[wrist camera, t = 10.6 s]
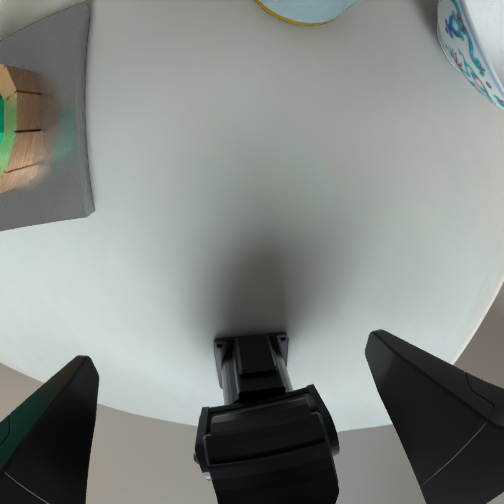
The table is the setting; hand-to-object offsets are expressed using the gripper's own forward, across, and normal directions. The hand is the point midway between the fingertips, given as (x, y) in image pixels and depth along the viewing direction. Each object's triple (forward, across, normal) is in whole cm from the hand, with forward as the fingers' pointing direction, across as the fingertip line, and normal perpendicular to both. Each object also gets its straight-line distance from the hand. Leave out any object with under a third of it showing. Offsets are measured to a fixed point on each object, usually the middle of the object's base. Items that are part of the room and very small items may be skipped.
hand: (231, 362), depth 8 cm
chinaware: (+13, -23, -18) cm, 32 cm away
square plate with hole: (+13, +17, -10) cm, 24 cm away
